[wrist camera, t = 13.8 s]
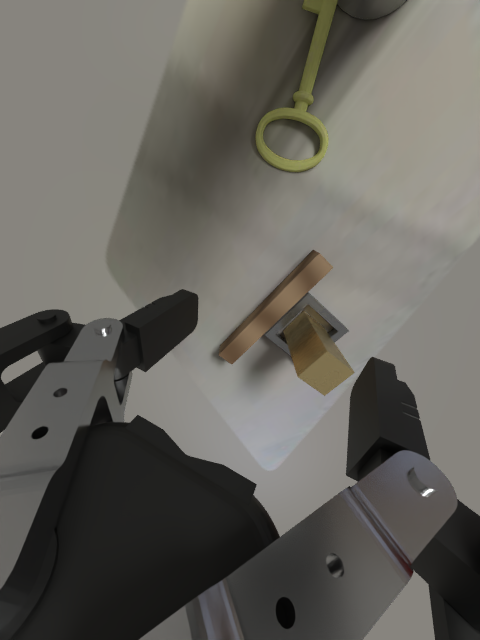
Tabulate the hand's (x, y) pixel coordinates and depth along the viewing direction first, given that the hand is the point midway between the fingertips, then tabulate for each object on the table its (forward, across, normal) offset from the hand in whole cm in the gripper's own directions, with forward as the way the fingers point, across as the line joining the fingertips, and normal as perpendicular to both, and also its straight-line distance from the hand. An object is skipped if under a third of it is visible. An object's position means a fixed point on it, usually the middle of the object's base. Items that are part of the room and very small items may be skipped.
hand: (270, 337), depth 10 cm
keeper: (+20, -1, +11) cm, 23 cm away
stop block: (+20, -1, +11) cm, 23 cm away
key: (+21, +7, -12) cm, 25 cm away
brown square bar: (+18, +4, +9) cm, 21 cm away
